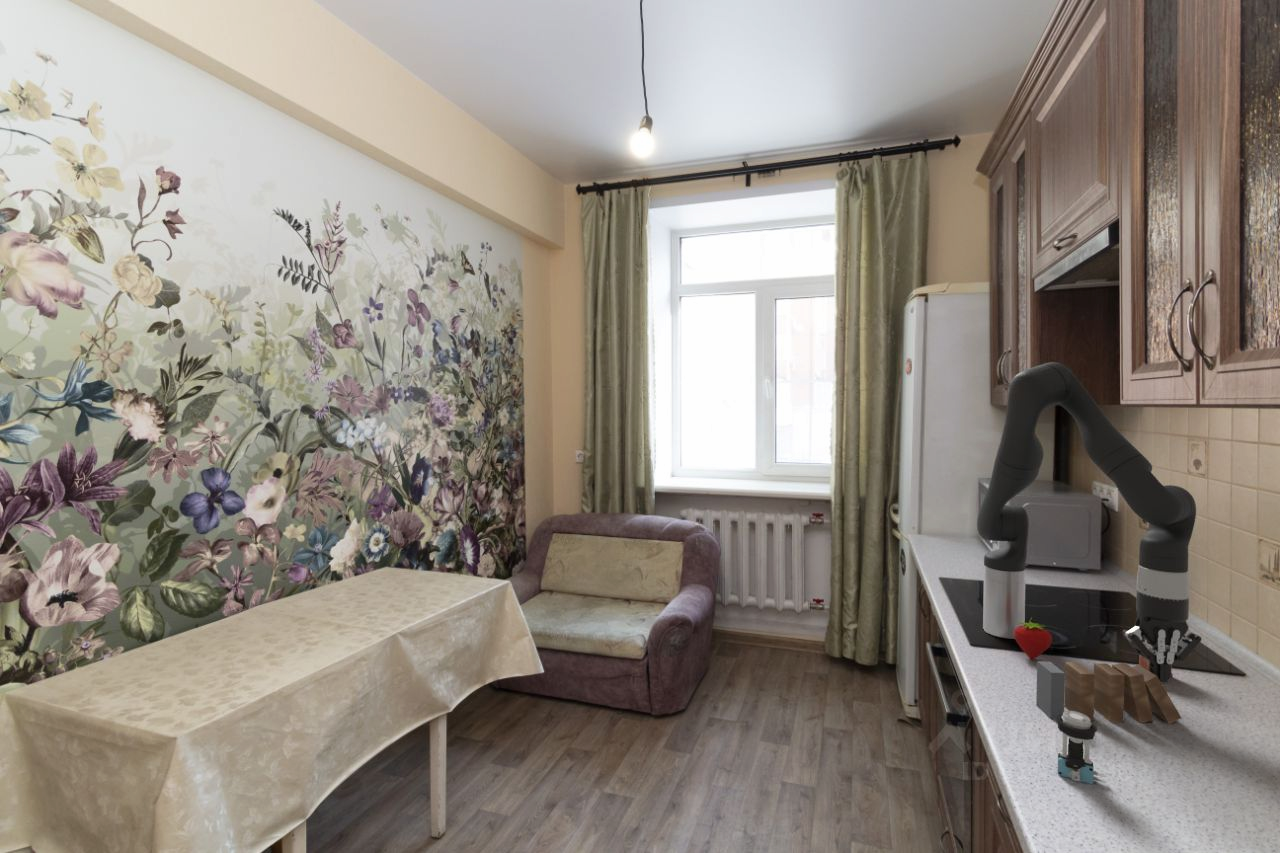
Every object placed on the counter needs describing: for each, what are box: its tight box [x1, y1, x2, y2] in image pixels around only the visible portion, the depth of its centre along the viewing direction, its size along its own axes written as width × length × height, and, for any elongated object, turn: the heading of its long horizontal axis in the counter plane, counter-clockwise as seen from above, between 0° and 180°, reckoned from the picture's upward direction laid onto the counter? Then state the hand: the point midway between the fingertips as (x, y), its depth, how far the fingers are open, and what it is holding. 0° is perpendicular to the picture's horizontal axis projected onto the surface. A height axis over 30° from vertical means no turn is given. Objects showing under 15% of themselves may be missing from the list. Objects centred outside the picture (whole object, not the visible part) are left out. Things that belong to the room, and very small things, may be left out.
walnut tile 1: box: [1131, 664, 1182, 724], centre depth 115 cm, size 2×5×9 cm, turn 173°
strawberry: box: [1014, 617, 1053, 659], centre depth 141 cm, size 6×8×10 cm
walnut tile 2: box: [1111, 662, 1154, 723], centre depth 116 cm, size 2×5×9 cm, turn 173°
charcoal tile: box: [1035, 660, 1065, 720], centre depth 117 cm, size 2×5×9 cm, turn 174°
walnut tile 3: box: [1092, 662, 1125, 723], centre depth 116 cm, size 2×5×9 cm, turn 174°
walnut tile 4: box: [1064, 661, 1095, 722], centre depth 117 cm, size 2×5×9 cm, turn 174°
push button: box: [1055, 710, 1107, 785], centre depth 97 cm, size 7×5×10 cm
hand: (1159, 680), depth 115 cm, fingers closed
